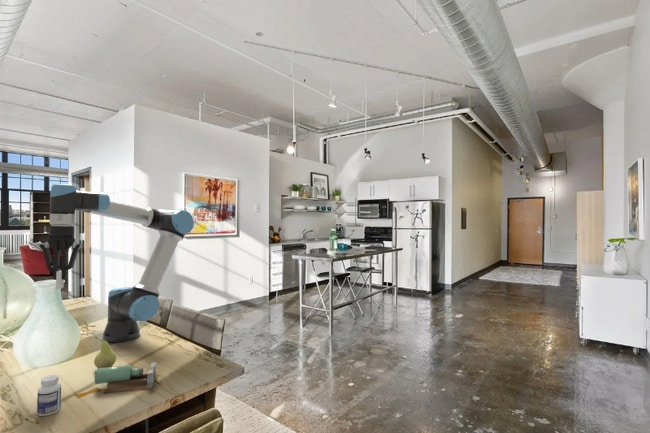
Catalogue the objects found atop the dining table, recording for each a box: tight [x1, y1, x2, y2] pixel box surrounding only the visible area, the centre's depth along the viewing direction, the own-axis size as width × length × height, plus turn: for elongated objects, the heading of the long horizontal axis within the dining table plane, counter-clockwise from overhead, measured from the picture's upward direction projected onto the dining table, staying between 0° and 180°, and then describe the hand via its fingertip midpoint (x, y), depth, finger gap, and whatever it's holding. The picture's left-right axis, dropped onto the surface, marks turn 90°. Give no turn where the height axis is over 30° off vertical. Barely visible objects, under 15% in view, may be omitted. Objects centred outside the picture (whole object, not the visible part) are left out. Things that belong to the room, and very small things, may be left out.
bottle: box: [94, 364, 144, 385], centre depth 117 cm, size 5×5×14 cm
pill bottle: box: [36, 374, 62, 417], centre depth 101 cm, size 5×5×10 cm
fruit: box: [93, 336, 117, 369], centre depth 130 cm, size 7×8×12 cm
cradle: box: [103, 361, 157, 394], centre depth 118 cm, size 9×14×5 cm, turn 108°
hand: (59, 288), depth 130 cm, fingers closed
